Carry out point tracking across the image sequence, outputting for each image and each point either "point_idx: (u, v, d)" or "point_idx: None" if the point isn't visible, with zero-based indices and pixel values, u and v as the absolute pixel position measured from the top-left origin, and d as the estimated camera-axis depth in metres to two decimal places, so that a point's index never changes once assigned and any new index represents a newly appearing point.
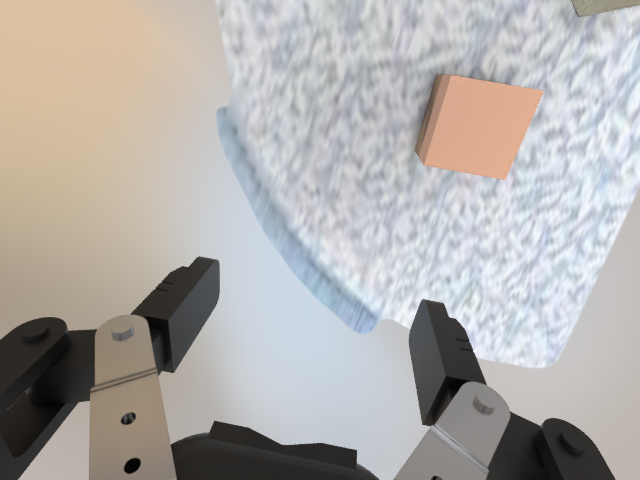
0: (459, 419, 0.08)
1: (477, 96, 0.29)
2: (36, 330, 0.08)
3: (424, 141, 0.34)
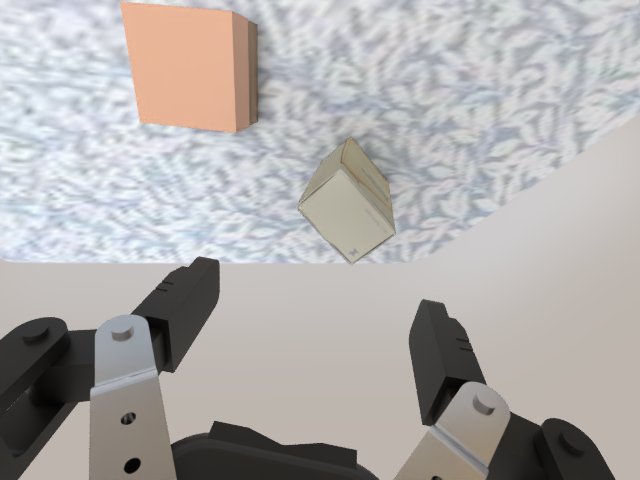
0: (459, 419, 0.08)
1: (215, 55, 0.23)
2: (36, 331, 0.08)
3: None
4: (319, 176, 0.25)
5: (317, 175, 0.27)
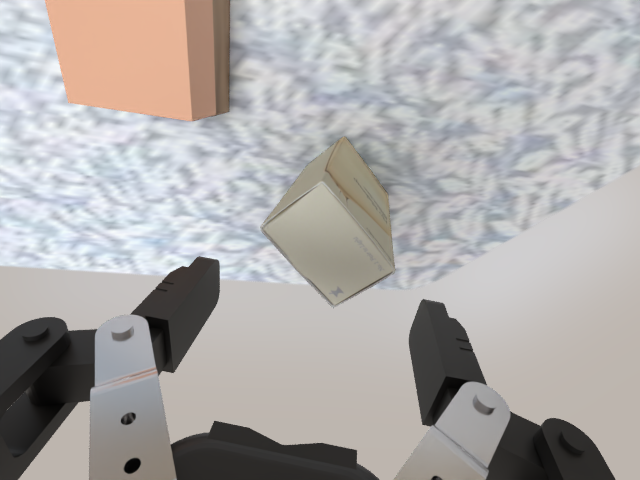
0: (459, 419, 0.08)
1: (161, 14, 0.17)
2: (36, 331, 0.08)
3: None
4: (298, 185, 0.19)
5: (297, 183, 0.20)
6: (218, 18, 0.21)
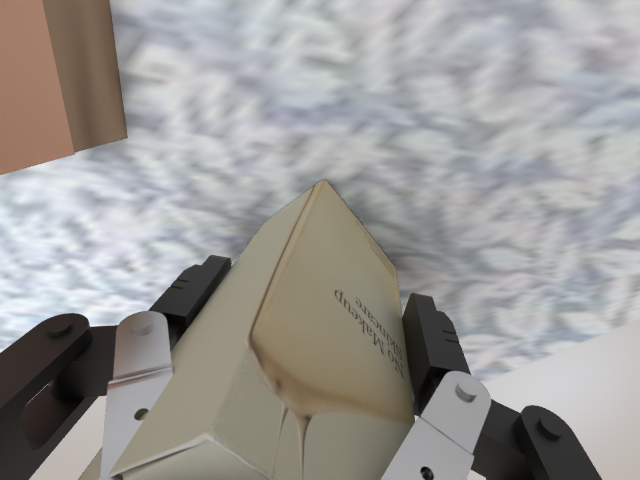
0: (441, 406, 0.08)
1: None
2: (60, 326, 0.08)
3: None
4: (210, 319, 0.09)
5: (219, 296, 0.10)
6: None
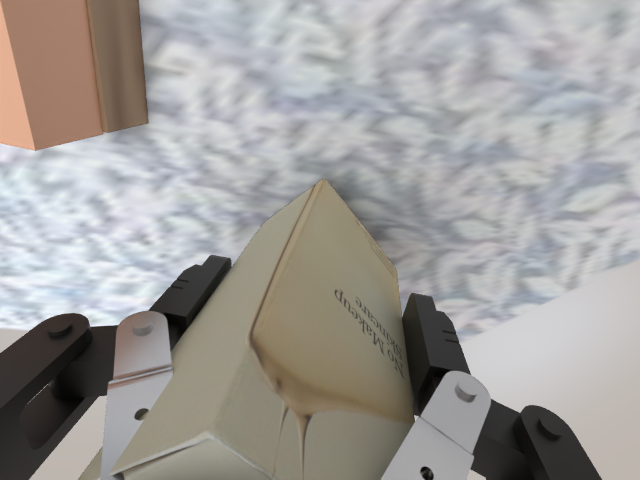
0: (441, 406, 0.08)
1: None
2: (60, 326, 0.08)
3: None
4: (210, 318, 0.09)
5: (219, 295, 0.10)
6: None
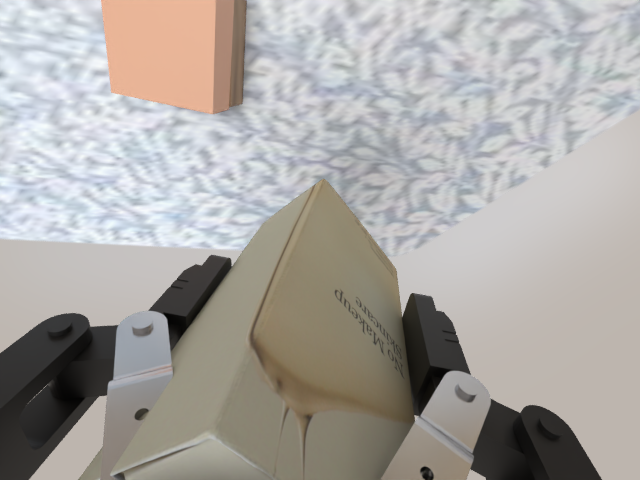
0: (441, 405, 0.08)
1: (196, 30, 0.22)
2: (60, 326, 0.08)
3: None
4: (210, 318, 0.09)
5: (219, 295, 0.10)
6: (237, 27, 0.26)
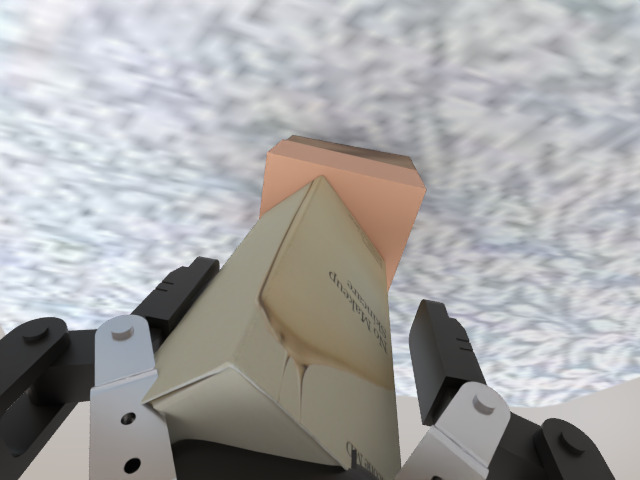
0: (459, 419, 0.08)
1: (383, 232, 0.17)
2: (36, 331, 0.08)
3: (310, 148, 0.18)
4: (219, 291, 0.10)
5: (225, 273, 0.11)
6: None
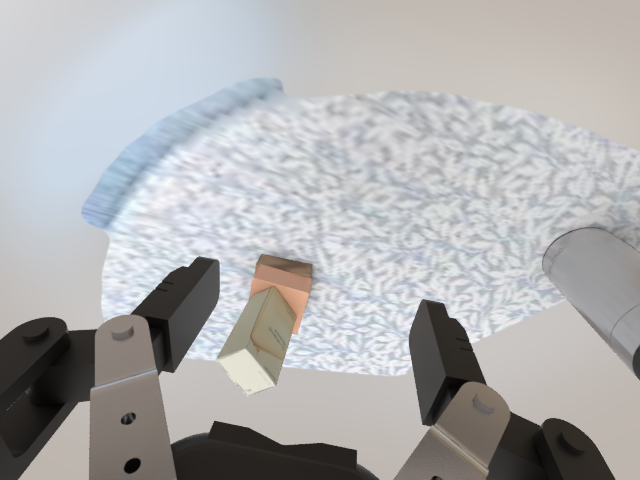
0: (459, 419, 0.08)
1: (295, 305, 0.46)
2: (36, 331, 0.08)
3: (270, 269, 0.47)
4: (239, 331, 0.38)
5: (239, 324, 0.39)
6: None
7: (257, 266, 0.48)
